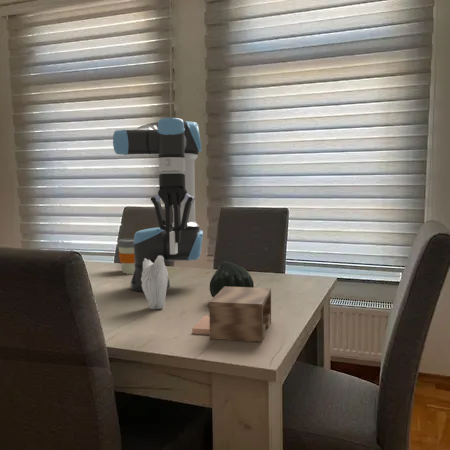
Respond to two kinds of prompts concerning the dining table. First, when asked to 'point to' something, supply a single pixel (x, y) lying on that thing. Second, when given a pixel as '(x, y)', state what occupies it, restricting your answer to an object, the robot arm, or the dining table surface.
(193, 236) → the robot arm
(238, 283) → the squash
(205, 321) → the tile
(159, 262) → the shell sculpture
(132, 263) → the reusable coffee cup
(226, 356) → the dining table surface
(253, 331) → the shelf
